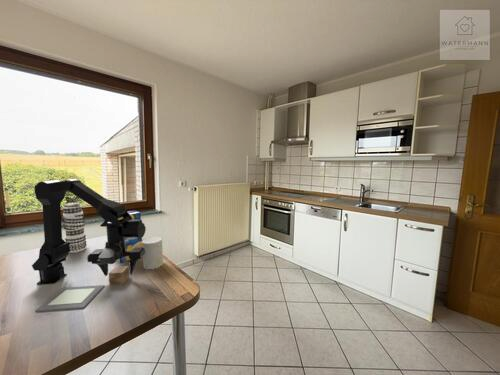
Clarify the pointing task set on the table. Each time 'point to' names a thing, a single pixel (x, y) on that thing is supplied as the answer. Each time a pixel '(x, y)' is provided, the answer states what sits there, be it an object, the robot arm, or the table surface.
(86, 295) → the rest pad
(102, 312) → the table surface
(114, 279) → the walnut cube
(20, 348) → the table surface
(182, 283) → the table surface
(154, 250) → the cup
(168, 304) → the table surface
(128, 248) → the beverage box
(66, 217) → the decorative candle
